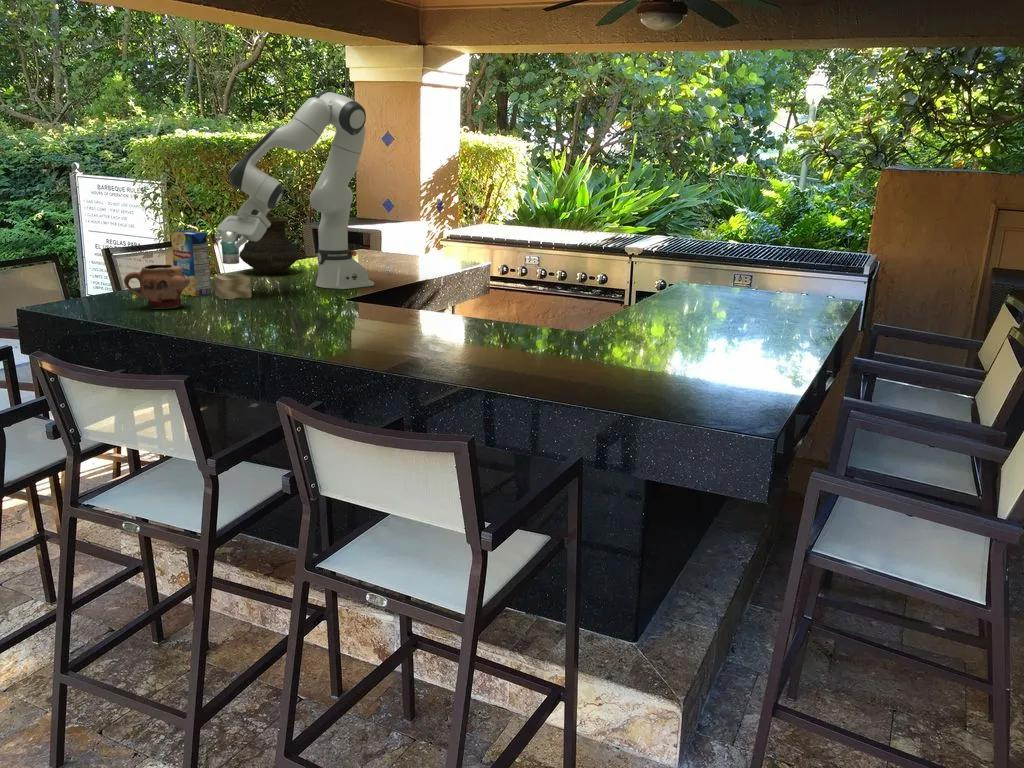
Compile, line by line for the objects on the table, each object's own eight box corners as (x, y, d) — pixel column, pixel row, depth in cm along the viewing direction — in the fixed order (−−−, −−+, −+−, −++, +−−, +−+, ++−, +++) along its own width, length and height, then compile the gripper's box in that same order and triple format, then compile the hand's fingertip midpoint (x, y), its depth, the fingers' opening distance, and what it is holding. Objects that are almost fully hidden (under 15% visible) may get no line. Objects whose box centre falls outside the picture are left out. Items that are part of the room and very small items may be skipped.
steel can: (236, 261, 306) (235, 230, 302) (241, 263, 301) (240, 232, 298) (220, 262, 302) (218, 230, 299) (225, 264, 298) (223, 232, 295)
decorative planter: (128, 313, 273) (123, 269, 270) (125, 306, 284) (121, 264, 280) (194, 309, 282) (190, 267, 278) (189, 302, 293) (186, 261, 289)
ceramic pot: (296, 277, 349) (294, 221, 343) (235, 276, 346) (232, 220, 339) (303, 268, 372) (301, 216, 365) (245, 267, 368) (242, 215, 362)
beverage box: (196, 296, 303) (191, 234, 297) (175, 293, 308) (170, 231, 302) (211, 294, 308) (207, 232, 302) (191, 290, 314) (186, 230, 308)
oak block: (243, 293, 312) (242, 274, 310) (251, 297, 304) (250, 278, 302) (215, 295, 307) (213, 275, 305) (222, 299, 299) (221, 279, 297)
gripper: (226, 207, 308) (204, 237, 303) (263, 212, 297) (242, 243, 292) (237, 219, 313) (215, 248, 308) (274, 224, 302) (253, 255, 297)
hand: (228, 246), depth 300 cm, fingers closed on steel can, 6 cm apart
